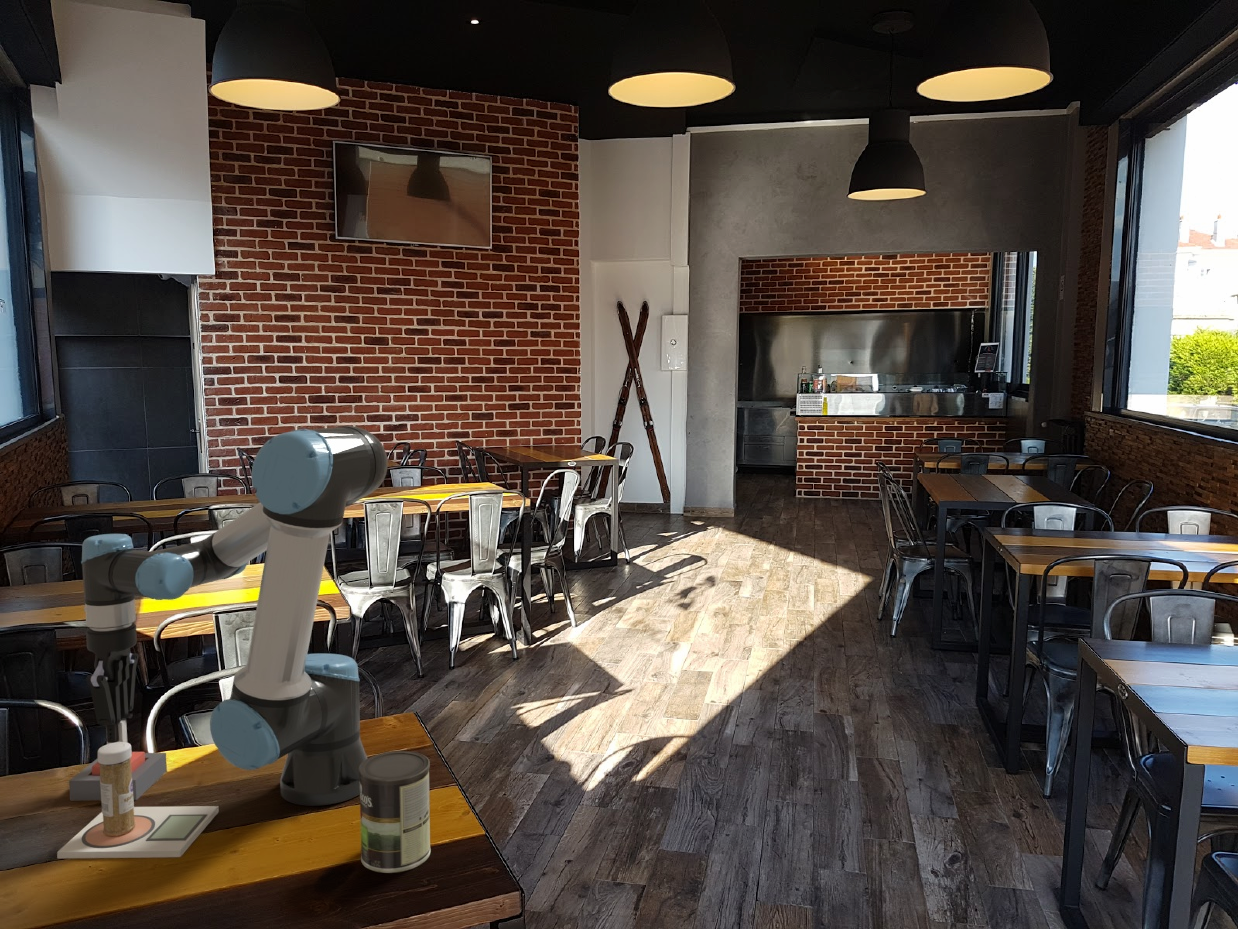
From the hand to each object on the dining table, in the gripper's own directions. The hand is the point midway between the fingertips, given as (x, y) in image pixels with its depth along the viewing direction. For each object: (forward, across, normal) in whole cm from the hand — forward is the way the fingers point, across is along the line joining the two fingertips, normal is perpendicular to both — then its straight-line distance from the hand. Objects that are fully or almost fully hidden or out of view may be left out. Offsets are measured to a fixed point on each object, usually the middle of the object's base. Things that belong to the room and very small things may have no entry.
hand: (117, 757), depth 160 cm
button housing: (+5, 0, 0) cm, 5 cm away
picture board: (+5, +17, +12) cm, 22 cm away
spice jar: (+4, +18, +9) cm, 21 cm away
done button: (+3, 0, 0) cm, 3 cm away
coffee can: (+5, +24, +53) cm, 59 cm away
